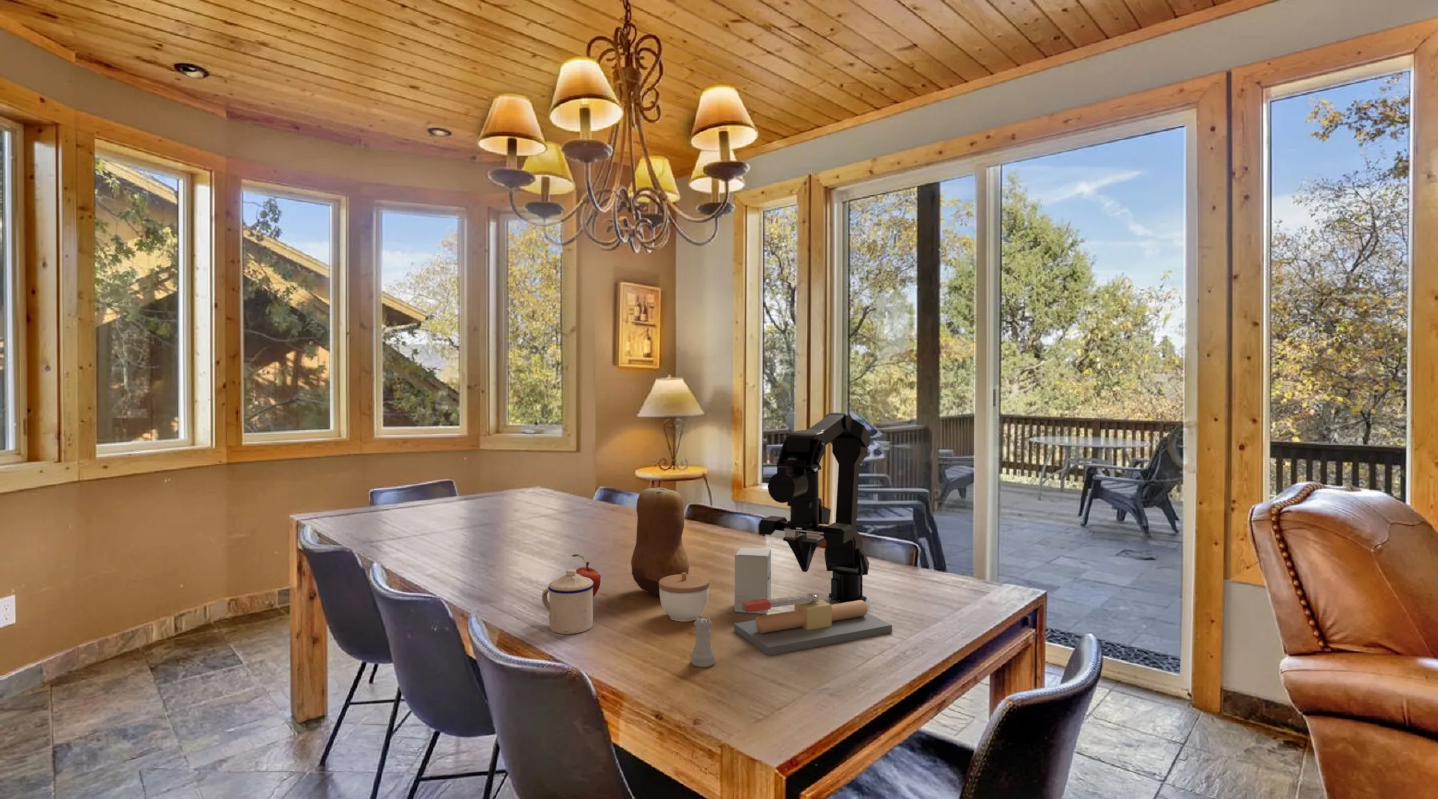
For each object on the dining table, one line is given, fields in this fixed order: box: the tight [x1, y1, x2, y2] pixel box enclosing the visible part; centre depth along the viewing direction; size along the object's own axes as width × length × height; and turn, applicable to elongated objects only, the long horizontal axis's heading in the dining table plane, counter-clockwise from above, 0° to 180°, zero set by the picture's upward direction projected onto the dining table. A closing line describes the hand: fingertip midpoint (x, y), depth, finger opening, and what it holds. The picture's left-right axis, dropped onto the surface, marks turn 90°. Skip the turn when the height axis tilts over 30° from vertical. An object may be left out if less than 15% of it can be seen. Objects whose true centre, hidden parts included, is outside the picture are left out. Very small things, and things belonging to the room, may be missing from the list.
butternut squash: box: [630, 487, 690, 597], centre depth 160 cm, size 14×13×25 cm
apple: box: [571, 553, 602, 598], centre depth 157 cm, size 8×7×10 cm
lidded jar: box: [659, 572, 710, 623], centre depth 144 cm, size 11×11×9 cm
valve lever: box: [742, 592, 820, 614], centre depth 132 cm, size 16×2×1 cm, turn 113°
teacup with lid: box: [541, 568, 594, 635], centre depth 138 cm, size 12×9×12 cm
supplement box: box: [734, 547, 772, 615], centre depth 149 cm, size 7×7×13 cm
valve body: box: [733, 598, 893, 657], centre depth 135 cm, size 28×14×6 cm, turn 115°
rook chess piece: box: [690, 615, 716, 668], centre depth 119 cm, size 4×4×8 cm
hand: (805, 571), depth 137 cm, fingers closed
